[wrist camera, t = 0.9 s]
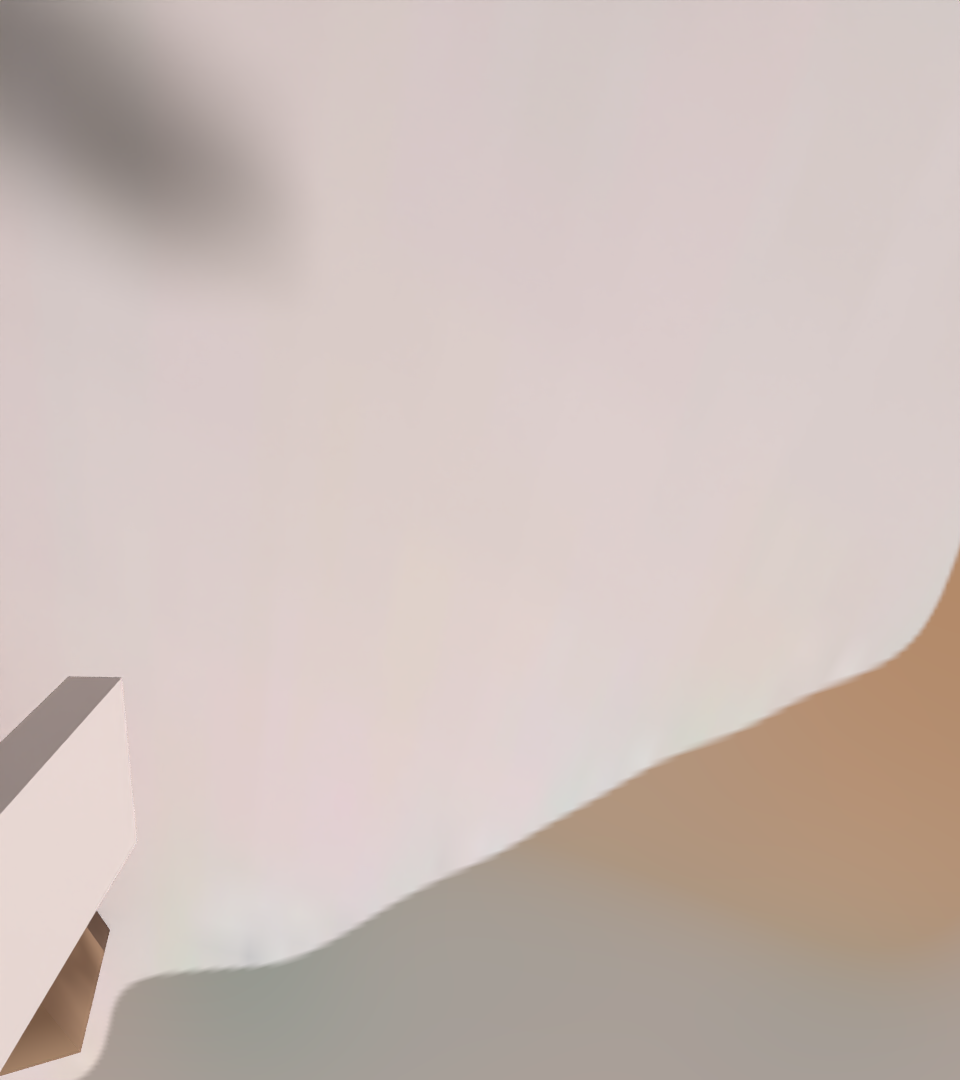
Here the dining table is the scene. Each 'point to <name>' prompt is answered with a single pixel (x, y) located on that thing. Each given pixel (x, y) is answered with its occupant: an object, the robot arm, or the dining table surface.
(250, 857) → the dining table surface
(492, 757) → the dining table surface
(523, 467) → the dining table surface
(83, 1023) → the socket block
